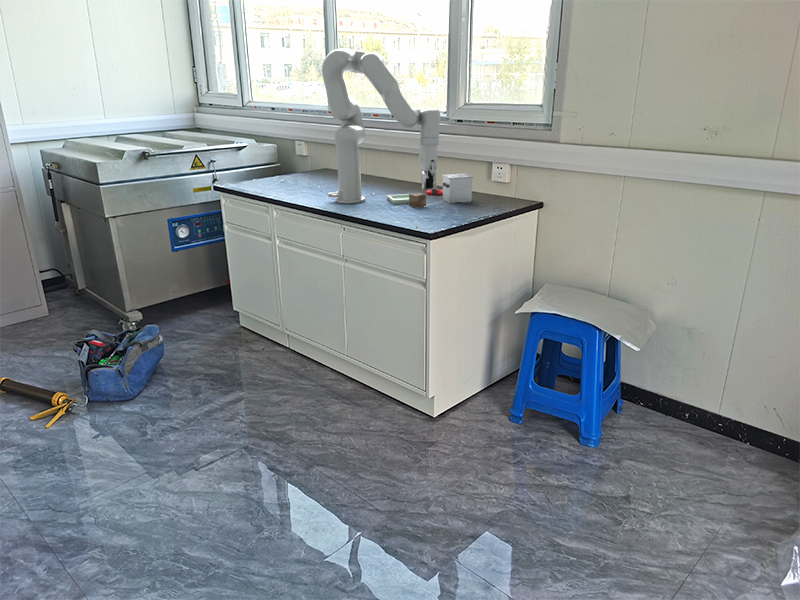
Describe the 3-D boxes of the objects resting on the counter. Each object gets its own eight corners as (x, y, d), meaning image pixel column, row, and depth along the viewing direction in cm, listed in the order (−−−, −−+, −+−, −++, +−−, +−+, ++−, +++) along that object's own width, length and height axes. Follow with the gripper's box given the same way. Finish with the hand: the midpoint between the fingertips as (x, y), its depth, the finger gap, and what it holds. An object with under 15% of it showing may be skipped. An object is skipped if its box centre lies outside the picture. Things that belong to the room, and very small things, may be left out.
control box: (448, 203, 242) (448, 178, 238) (441, 199, 250) (441, 174, 246) (472, 201, 244) (473, 176, 241) (464, 197, 252) (465, 173, 248)
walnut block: (415, 208, 235) (415, 196, 233) (409, 206, 239) (409, 194, 237) (426, 206, 237) (426, 194, 236) (419, 204, 241) (419, 192, 240)
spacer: (423, 190, 237) (424, 172, 235) (420, 187, 241) (421, 170, 239) (434, 189, 238) (434, 172, 236) (430, 187, 242) (431, 170, 240)
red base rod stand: (427, 192, 268) (425, 195, 260) (427, 163, 264) (425, 165, 255) (445, 192, 267) (443, 195, 258) (446, 163, 263) (444, 165, 254)
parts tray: (393, 204, 241) (393, 200, 241) (386, 199, 251) (386, 195, 250) (418, 202, 244) (418, 198, 243) (411, 197, 254) (411, 193, 253)
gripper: (414, 139, 239) (412, 183, 246) (427, 144, 224) (425, 191, 231) (431, 138, 241) (429, 182, 248) (445, 144, 226) (442, 190, 233)
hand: (427, 186), depth 239 cm, fingers closed on spacer, 4 cm apart
